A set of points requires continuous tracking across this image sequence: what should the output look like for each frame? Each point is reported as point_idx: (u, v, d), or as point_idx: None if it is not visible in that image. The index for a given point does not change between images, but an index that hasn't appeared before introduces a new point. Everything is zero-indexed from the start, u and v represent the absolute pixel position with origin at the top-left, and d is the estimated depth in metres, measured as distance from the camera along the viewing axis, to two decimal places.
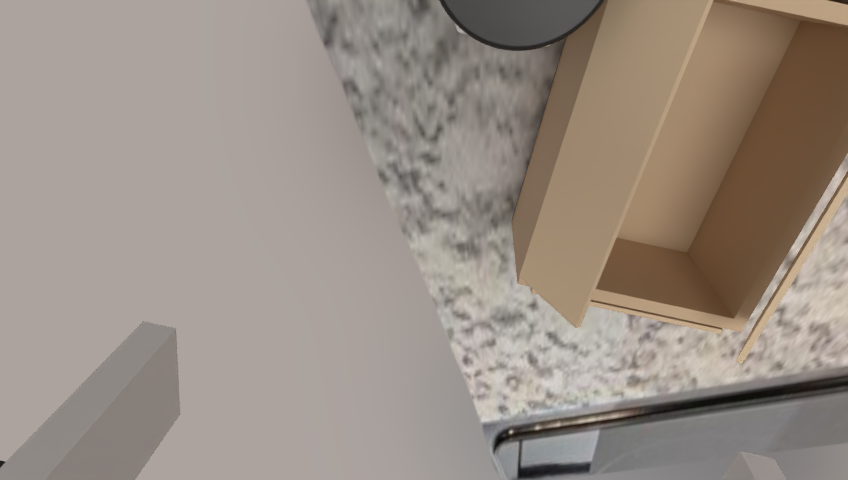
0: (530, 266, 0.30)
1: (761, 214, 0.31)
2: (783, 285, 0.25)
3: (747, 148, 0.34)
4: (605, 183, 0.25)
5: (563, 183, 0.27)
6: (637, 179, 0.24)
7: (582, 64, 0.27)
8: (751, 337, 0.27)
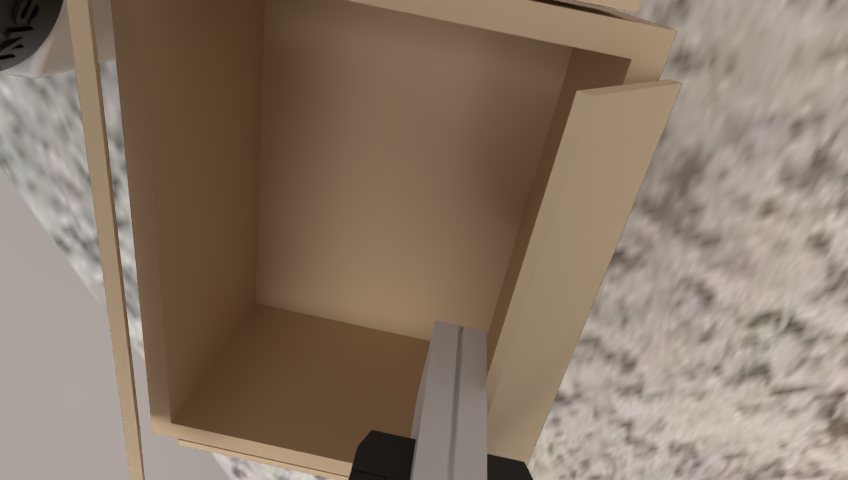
0: None
1: None
2: None
3: (527, 217, 0.23)
4: None
5: None
6: (115, 338, 0.12)
7: None
8: None
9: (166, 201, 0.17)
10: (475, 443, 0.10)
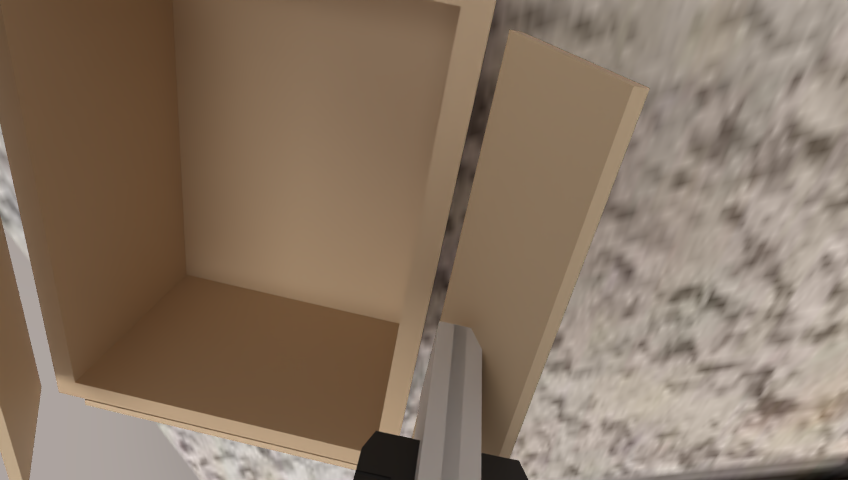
0: None
1: None
2: None
3: None
4: None
5: None
6: None
7: None
8: None
9: (48, 158, 0.17)
10: (469, 443, 0.10)
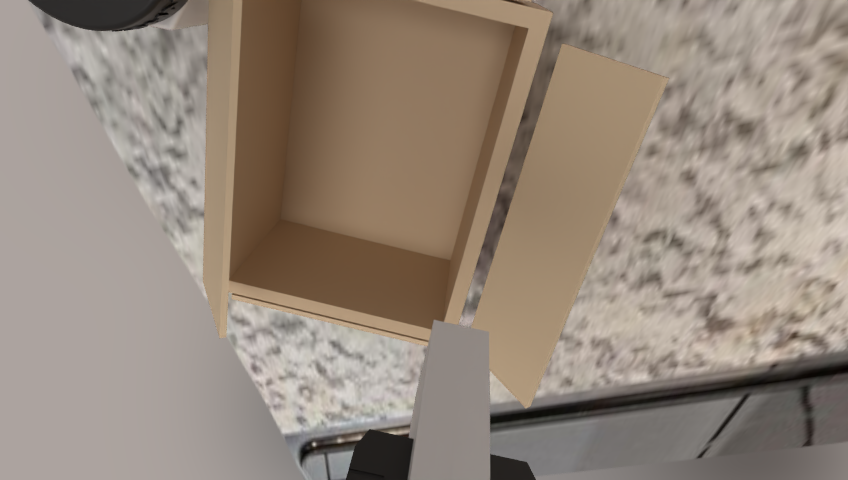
0: (205, 270, 0.28)
1: (468, 221, 0.29)
2: (559, 330, 0.23)
3: (481, 150, 0.32)
4: (218, 180, 0.23)
5: (208, 180, 0.25)
6: (228, 176, 0.21)
7: None
8: (536, 383, 0.25)
9: (241, 116, 0.26)
10: (478, 444, 0.10)
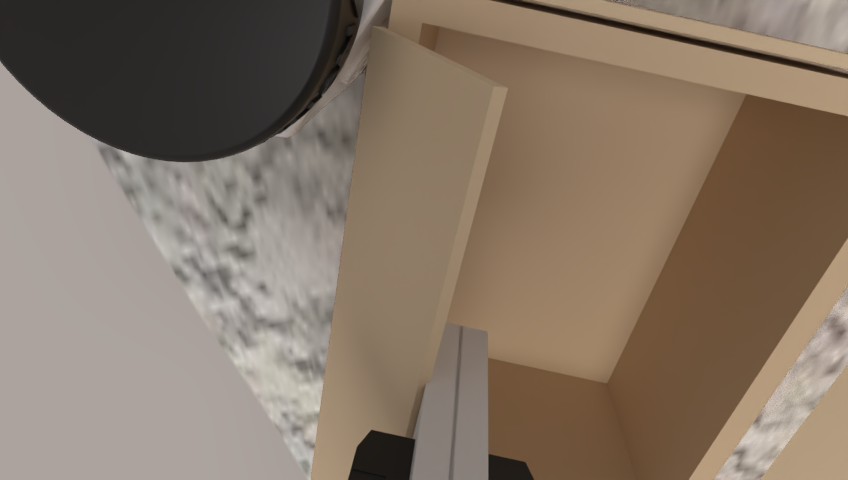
0: (318, 471, 0.19)
1: (694, 376, 0.20)
2: None
3: (681, 256, 0.23)
4: (378, 396, 0.13)
5: (339, 365, 0.16)
6: (413, 414, 0.12)
7: None
8: None
9: None
10: (476, 444, 0.10)
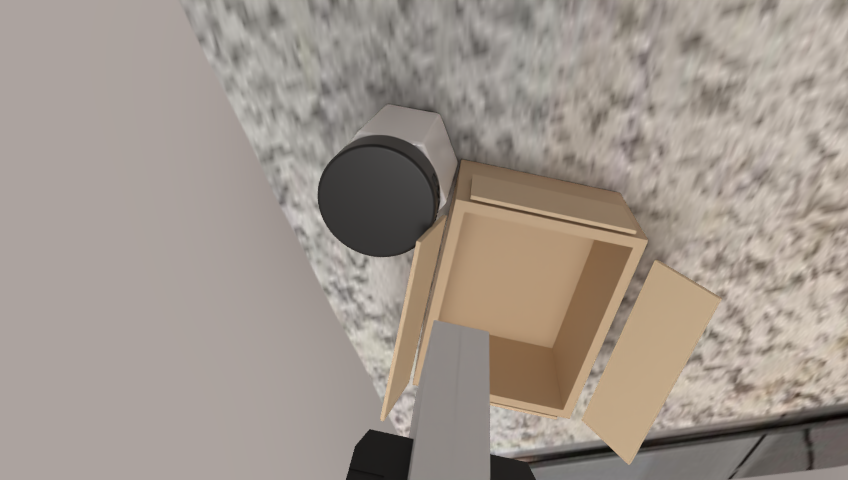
0: None
1: (580, 338, 0.45)
2: (653, 421, 0.39)
3: (581, 283, 0.48)
4: None
5: None
6: (398, 334, 0.36)
7: (443, 249, 0.41)
8: (636, 450, 0.40)
9: None
10: (478, 444, 0.10)
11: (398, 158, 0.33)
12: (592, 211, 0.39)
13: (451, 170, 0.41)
